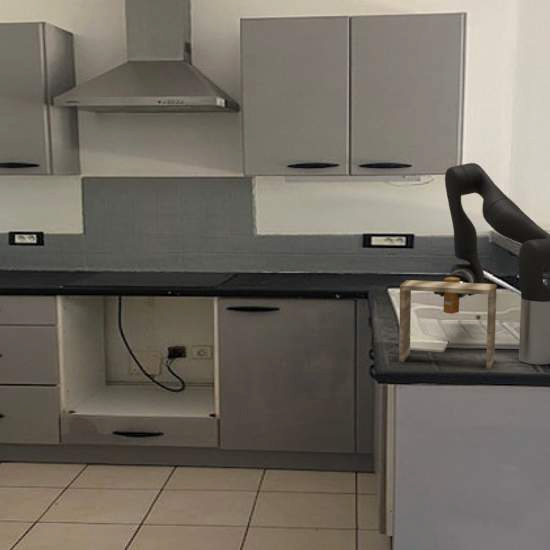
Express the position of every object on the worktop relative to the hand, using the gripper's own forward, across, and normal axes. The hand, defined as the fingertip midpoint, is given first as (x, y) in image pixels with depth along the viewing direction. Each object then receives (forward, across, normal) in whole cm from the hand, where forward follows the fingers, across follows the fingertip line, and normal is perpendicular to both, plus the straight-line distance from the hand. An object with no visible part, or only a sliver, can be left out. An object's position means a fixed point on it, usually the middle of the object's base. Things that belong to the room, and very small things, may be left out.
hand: (450, 293), depth 234 cm
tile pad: (-5, -7, +17) cm, 19 cm away
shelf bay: (+10, +1, +17) cm, 20 cm away
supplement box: (-3, 0, +6) cm, 7 cm away
